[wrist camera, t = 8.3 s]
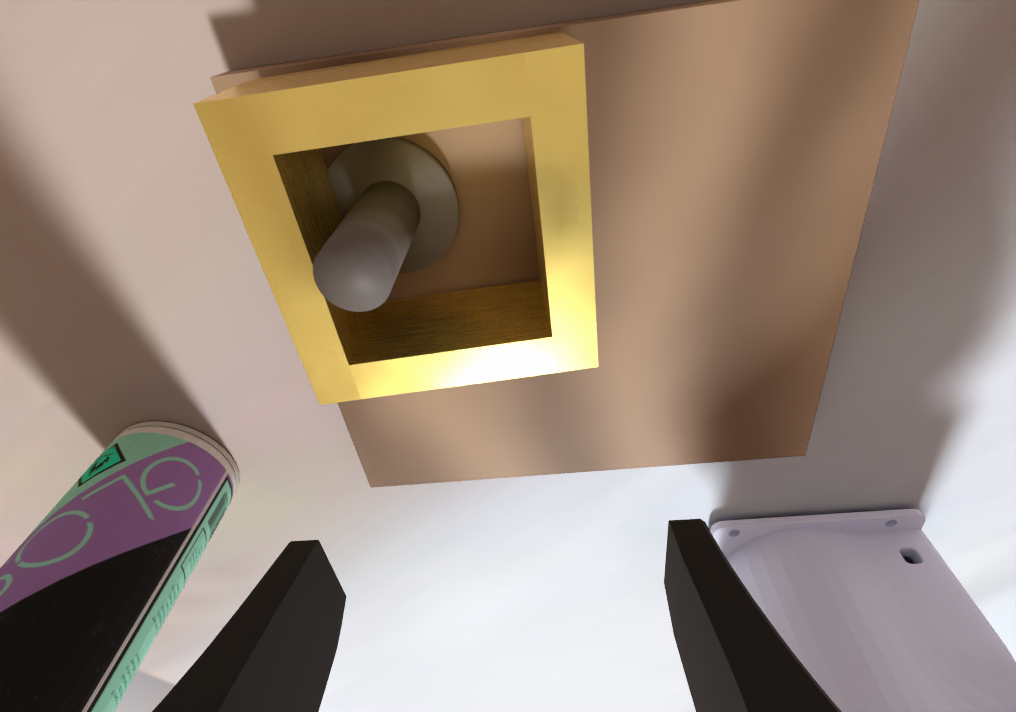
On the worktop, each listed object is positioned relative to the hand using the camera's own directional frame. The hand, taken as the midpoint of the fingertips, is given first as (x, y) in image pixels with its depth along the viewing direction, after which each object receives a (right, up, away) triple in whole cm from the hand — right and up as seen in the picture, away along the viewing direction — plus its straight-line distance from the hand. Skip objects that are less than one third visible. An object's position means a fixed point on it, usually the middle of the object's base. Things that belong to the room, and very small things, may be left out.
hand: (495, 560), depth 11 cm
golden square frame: (-2, +9, +5) cm, 10 cm away
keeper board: (+2, +7, +8) cm, 11 cm away
